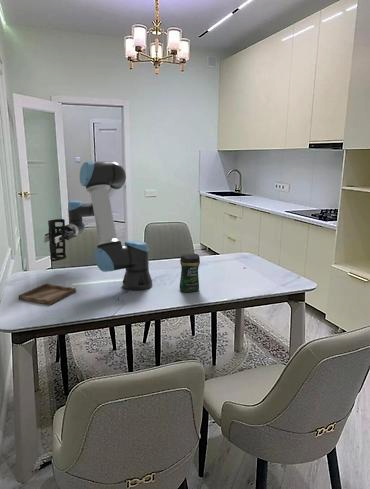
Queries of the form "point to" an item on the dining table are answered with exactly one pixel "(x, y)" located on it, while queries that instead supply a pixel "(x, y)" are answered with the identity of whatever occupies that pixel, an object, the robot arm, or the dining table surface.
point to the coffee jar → (189, 272)
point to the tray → (47, 294)
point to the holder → (52, 239)
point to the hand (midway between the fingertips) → (49, 240)
